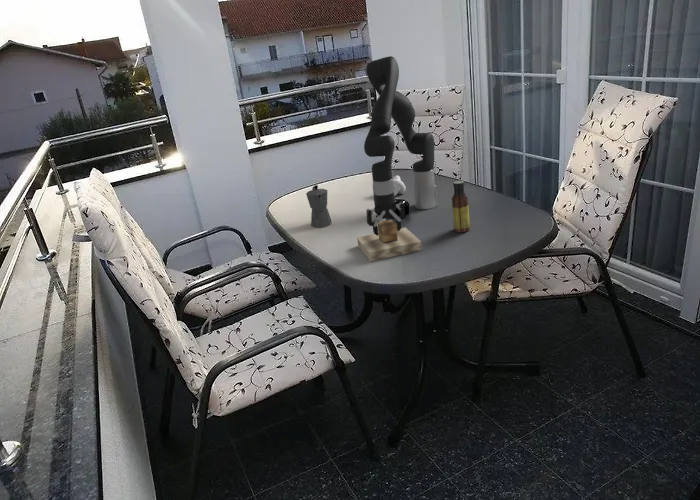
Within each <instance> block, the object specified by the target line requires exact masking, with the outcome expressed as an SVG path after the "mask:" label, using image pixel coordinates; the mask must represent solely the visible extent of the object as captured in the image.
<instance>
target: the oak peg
mask: <svg viewBox="0 0 700 500" xmlns="http://www.w3.org/2000/svg"><path fill="white" fill-rule="evenodd" d="M377 226H378V234H379V239H380V240H381V241H382V242H383V243H388V242H393V241H397V240H398V238H397V226H396V222H394V221H393V220H392V219H388V220H383V221H382V220H381V221H380V222H379V223H378V224H377Z"/></svg>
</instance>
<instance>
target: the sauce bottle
mask: <svg viewBox="0 0 700 500" xmlns="http://www.w3.org/2000/svg"><path fill="white" fill-rule="evenodd" d="M452 184H453V189H454V190H453V196H452V197H451V203H452V204H451V209H452V220H453V221H452V222H453V228H454V229H453V230H454V231H455V232H456V233H466V232H469V231H470V226H471V224H470V210H469V208H470V207H469V206H470V205H469V201H468V196H467V195H466V193H465V181H464V180H455V181H453V183H452Z"/></svg>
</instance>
